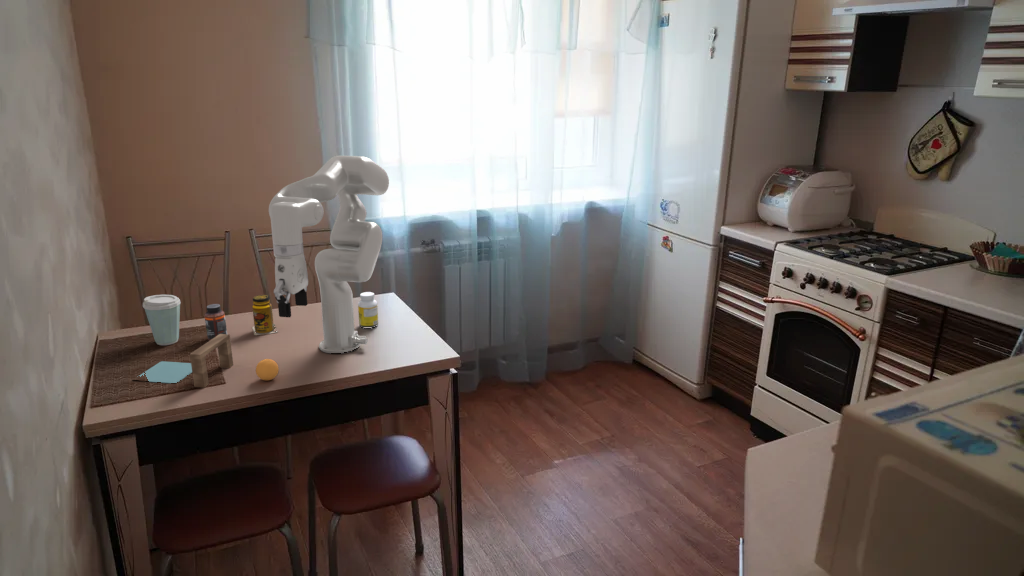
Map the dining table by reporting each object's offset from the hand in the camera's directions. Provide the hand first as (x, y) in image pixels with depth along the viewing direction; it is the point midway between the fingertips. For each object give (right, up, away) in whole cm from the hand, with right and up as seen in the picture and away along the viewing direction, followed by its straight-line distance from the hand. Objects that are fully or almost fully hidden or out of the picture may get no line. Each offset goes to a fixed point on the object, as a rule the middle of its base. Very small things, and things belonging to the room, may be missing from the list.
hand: (293, 310), depth 179 cm
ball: (-9, -17, +5) cm, 20 cm away
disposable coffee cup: (-50, -11, +31) cm, 60 cm away
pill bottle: (+10, -7, +47) cm, 49 cm away
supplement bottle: (-36, -10, +34) cm, 51 cm away
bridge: (-25, -19, +8) cm, 32 cm away
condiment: (-24, -8, +43) cm, 49 cm away
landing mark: (-39, -18, +10) cm, 44 cm away
